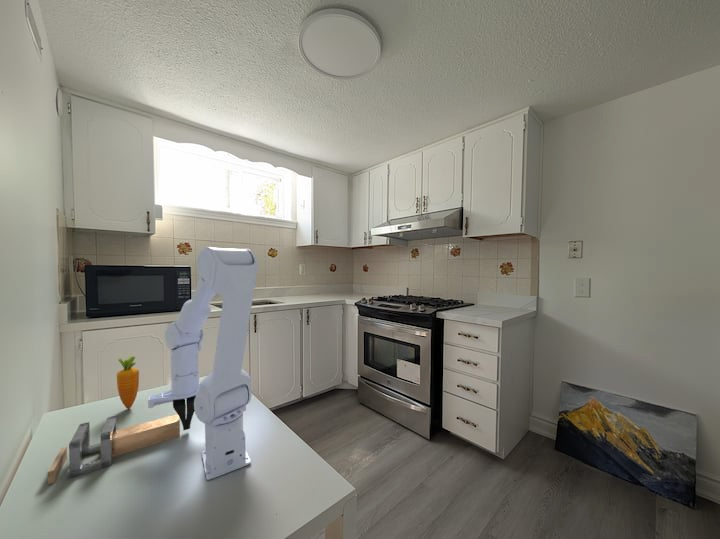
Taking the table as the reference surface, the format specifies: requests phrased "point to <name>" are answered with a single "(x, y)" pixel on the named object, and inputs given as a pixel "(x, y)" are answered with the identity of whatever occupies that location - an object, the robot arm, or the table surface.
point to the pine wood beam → (144, 434)
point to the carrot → (128, 382)
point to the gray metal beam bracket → (90, 448)
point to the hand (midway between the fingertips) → (186, 427)
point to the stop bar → (57, 465)
